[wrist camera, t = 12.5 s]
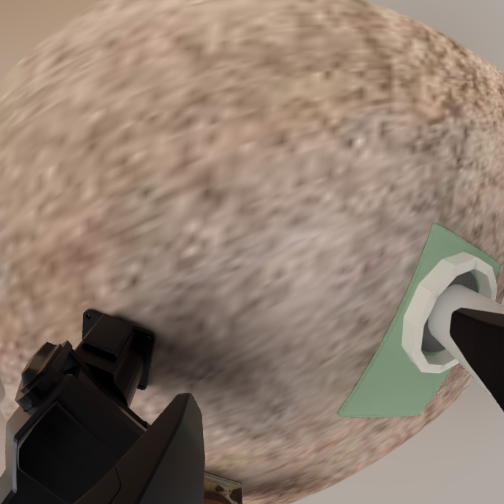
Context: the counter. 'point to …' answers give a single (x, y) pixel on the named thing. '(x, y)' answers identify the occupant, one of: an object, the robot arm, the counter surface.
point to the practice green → (420, 331)
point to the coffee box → (221, 490)
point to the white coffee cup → (441, 318)
